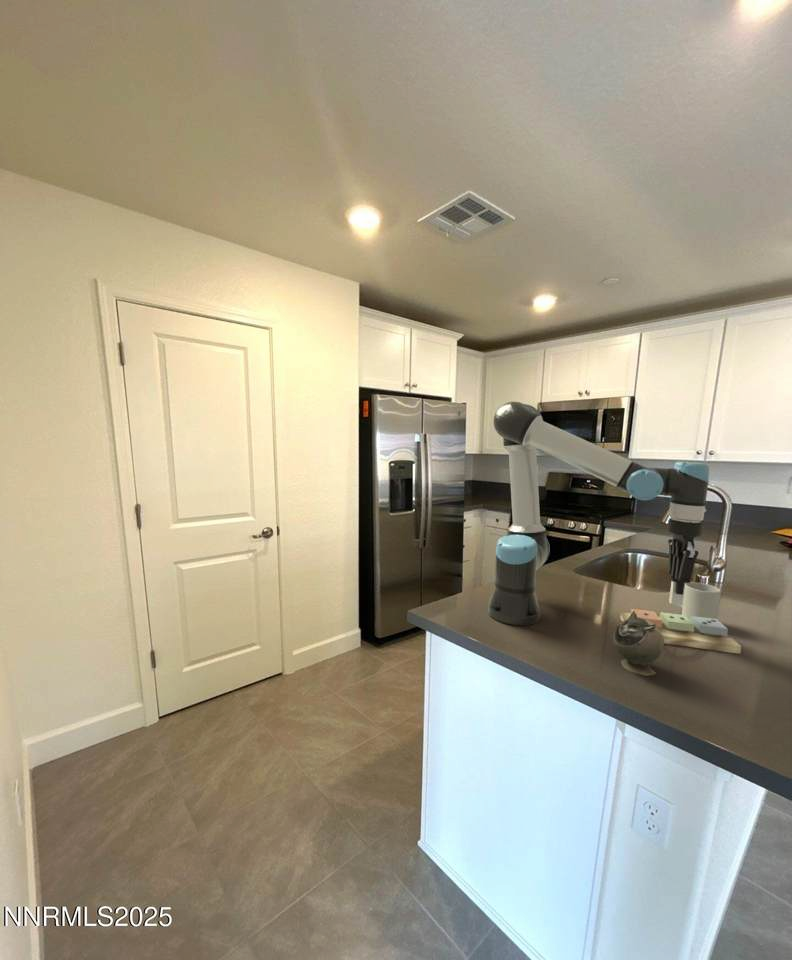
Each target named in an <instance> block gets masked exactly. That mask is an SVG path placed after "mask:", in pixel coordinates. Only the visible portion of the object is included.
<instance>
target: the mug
mask: <svg viewBox="0 0 792 960" xmlns="http://www.w3.org/2000/svg"><path fill="white" fill-rule="evenodd" d="M721 593H722V592H721V589H720V588H718V587H716V586H714V585H711V584H707V583H702V582H695V581H690V583H685V589H684V598H683V606H681V605H676V606H677V607H678V608H681V615H685V616H686V617H687V618H688V619H689V620H690V621H691V616H696V617H704V618H712V619H717V620H718V621H719V613H720V603H721Z"/></svg>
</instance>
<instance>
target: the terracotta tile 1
mask: <svg viewBox="0 0 792 960" xmlns="http://www.w3.org/2000/svg"><path fill="white" fill-rule="evenodd" d="M633 611H635V614H637V615H636V616H637V617H639V618H642V619H645V620H647V621H649V622H651V623H653V624H654V625H656V626H657V627H661V626H662V620H661V619H660V618H659V617H660V615H658V614H657V612H655V611H652V610H643V609H637V608H630V611H629V613H630V615H631V614H632V613H633Z"/></svg>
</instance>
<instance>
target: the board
mask: <svg viewBox="0 0 792 960" xmlns="http://www.w3.org/2000/svg"><path fill="white" fill-rule="evenodd" d="M629 617H630V612H622V611H621V612H620V620H621V622H622V621H624V620H626V619H628V618H629ZM659 618H660V616H659ZM658 629H659V630H660V632H661V633H662V635H663V638H664V644H667V645H674V646H681V647H689V648H694V649H696V648H697V649H702V650H709V651H717V652H723V653H733V654H739V655H741V654H742V653H741V652H742V645H741V644H739V643H738V642H737V641H736V640H735V639H734V638H732V636H731V635H729V634H728V633H727V636H723V635H719V636H711V635H703V634H701V633H700V632H699V631H698V630H697V629H696V628H695V627H694V632H692V631H686V632H680V631H673V630H669V629H668V628H667V627H666V626H665V625H664V623H663V622H662V626H661V627H658Z"/></svg>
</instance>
